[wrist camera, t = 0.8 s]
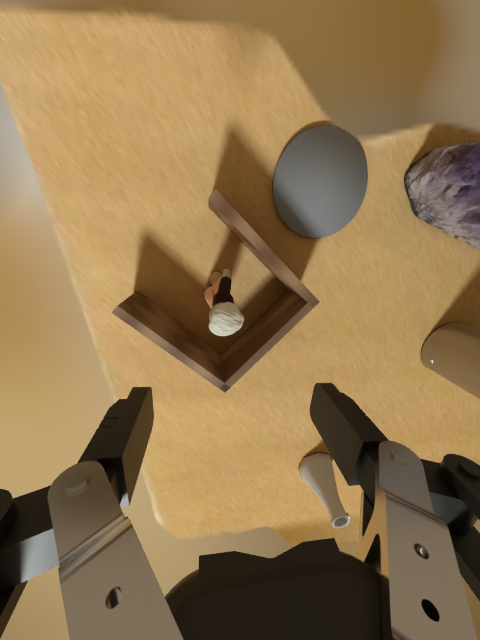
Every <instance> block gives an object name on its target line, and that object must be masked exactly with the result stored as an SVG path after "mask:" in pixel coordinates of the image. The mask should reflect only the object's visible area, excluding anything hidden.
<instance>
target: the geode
mask: <svg viewBox="0 0 480 640" xmlns="http://www.w3.org/2000/svg"><path fill="white" fill-rule="evenodd" d="M404 184H405V189H406V192H407V195H408V198H409V201H410V204H411V208H412V210H413V212H414V214H415V216H417V217H418V218H420V219H423V220H425V221H426V222H427V223H429V224H431V225H434V226H436V227H438V228H439V229H441V230H442V231H443V232H445V233H448V234H450V235H456V236H455V239H458V240H461V241H465V242H467V243H468V244H470V245H472V246H474V247H476V248H478V249H480V142H477V141H475V142H470V141H464V142H461V143H458V144H457V145H455V146H444V147H440V148H435V149H433V150H431V151H430V152H428V153H427V154H426V155H425V156H424V157H422V158H421V159H420V160H419V161H417V162H415V163H414V164H412V165H411V166H410V169H409V170H408V171H407V172H406V174H405V177H404Z"/></svg>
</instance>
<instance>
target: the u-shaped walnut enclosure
mask: <svg viewBox="0 0 480 640" xmlns="http://www.w3.org/2000/svg"><path fill="white" fill-rule="evenodd" d="M209 208H210V209H211V210H212V211H213V212H214V213H215V214H216V215H217V216H218V217H219V218H220V219H221V220H222V221H223V222H224V224H225V225H226V226H227V227H228V228H229V229H230V230H231V231H232V232H233V233H234V234H235V235H236V236H237V237H238V238H239V239H240V240H241V241H242V242H243V243H244V244H245V245H246V246H247V247H248V248H249V250H250V251H251V252H252V253H253V254H254V255H255V256H256V257H257V258H258V259H259V260H260V261H261V262H262V263H263V264H264V265H265V266H266V267H267V268H268V269H269V270H270V271H271V272H272V273H273V274H274V276H275V277H276V278H277V279H278V280H279V281H280V282H281V283H282V284H283V285H284V286H285V287H286V288H287V289H288V290H287V291H286V292H285V293H284V294H283V295H282V296H281V297H280V298H279V299H278V300H277V301H276V302H275V303H274V304H273V305H272V306H271V307H270V308H269V309H268V310H267V311H266V312H265V313H264V314H263V315H262V316H261V317H260V318H259V319H258V320H257V321H256V322H255V323H254V324H253V325H252V326H251V327H250V328H249V329H248V330H247V331H246V332H245V333H244V334H243V335H242V336H241V337H240V338H239V339H238V340H237V341H236V342H235V343H234V344H233V345H232V346H231V347H230V348H229V349H228V350H227V351H226V352H225V353H224V354H223V355H222V356H221V355H220V354H219V353H217V352H216V351H215V350H214V349H212V348H211V347H210V346H208V345H207V344H206V343H205V342H203V341H202V340H201V339H199V338H198V337H197V336H196V335H194V334H193V333H192V332H190V331H189V330H188V329H186V328H185V327H184V326H183V325H181V324H180V323H179V322H177V321H176V320H175V319H174V318H172V317H171V316H170V315H168V314H167V313H166V312H164V311H163V310H162V309H161V308H159V307H158V306H157V305H155V304H154V303H153V302H152V301H150V300H149V299H148V298H146V297H145V296H144V295H142V294H141V293H140V292H139V291H136V292H135V293H134V294H132V295H131V296H130V297H128V298H127V299H126V300H124V301H123V302H122V303H120V304H119V305H118V306H117V307H116V308H115V309H114V311H113V312H112V313H113V314H114V315H116V316H117V317H119V318H120V319H121V320H123V321H124V322H126V323H127V324H129V325H130V326H131V327H133V328H134V329H136V330H137V331H138V332H140V333H141V334H143V335H144V336H146V337H147V338H148V339H150V340H151V341H153V342H154V343H155V344H157V345H158V346H160V347H161V348H163V349H164V350H165V351H167V352H168V353H170V354H171V355H173V356H174V357H175V358H177V359H178V360H180V361H181V362H182V363H184V364H185V365H187V366H188V367H190V368H191V369H192V370H194V371H195V372H197V373H198V374H199V375H201V376H202V377H204V378H205V379H207V380H208V381H209V382H211V383H212V384H214V385H215V386H216V387H218V388H219V389H221V390H222V391H224V392H226V391H227V390H228V389H229V388H230V387H231V386H232V385H233V384H234V383H236V382H237V381H238V380H239V379H240V378H241V377H242V376H243V375H244V374H245V373H246V372H247V371H248V370H249V369H250V368H251V367H252V366H253V365H254V364H255V363H256V362H257V361H259V360H260V359H261V358H262V357H263V356H264V355H265V354H266V353H267V352H268V351H269V350H270V349H271V348H272V347H273V346H274V345H275V344H276V343H277V342H278V341H279V340H280V339H281V338H283V337H284V336H285V335H286V334H287V333H288V332H289V331H290V330H291V329H292V328H293V327H294V326H295V325H296V324H297V323H298V322H299V321H300V320H301V319H302V318H303V317H304V316H305V315H307V314H308V313H309V312H310V311H311V310H312V309H313V308H314V307H315V306H316V305H317V304H318V303H319V301H318V300H317V299H316V298H315V296H314V295H313V294H312V293H311V292H310V291H309V290H308V289H307V288H306V287H305V286H304V284H303V283H302V282H301V281H300V280H299V279H298V278H297V277H296V276H295V275H294V274H293V272H292V271H291V270H290V269H289V268H288V267H287V266H286V265H285V264H284V263H283V262H282V261H281V259H280V258H279V257H278V256H277V255H276V254H275V253H274V252H273V251H272V250H271V249H270V247H269V246H268V245H267V244H266V243H265V242H264V241H263V240H262V239H261V238H260V237H259V235H258V234H257V233H256V232H255V231H254V230H253V229H252V228H251V227H250V226H249V225H248V223H247V222H246V221H245V220H244V219H243V218H242V217H241V216H240V215H239V214H238V213H237V211H236V210H235V209H234V208H233V207H232V206H231V205H230V204H229V203H228V202H227V201H226V200H225V198H224V197H223V196H222V195H221V194H220V193H219V192H218V191H217V190H215V191H214V192H213V193H212V194H211V196H210V197H209Z"/></svg>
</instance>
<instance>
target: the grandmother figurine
mask: <svg viewBox="0 0 480 640" xmlns="http://www.w3.org/2000/svg"><path fill="white" fill-rule="evenodd" d="M231 274H232V273H231V271H230V270H229V269H224V270H223V272H222V273H220V272H213V273H212V274H211V275H210V278H209V281H210V283H211V284H212V285H213V286H210V287H208V288H207V289H206V290H205V293H204V295H205V299H206V301H207V303H208V304H209V306H210V308H211V310H210V313H209V320H210V323H209V329H210V331H211V332H212V333H214V334H215V335H218V336H221V337H223V336H227V335H231V334H233V333H235V332H236V331H238V330H239V329H240V328H241V327H242V325H243V322H244V316H243V315H242V314H241V313H240V310H239V309H238V307H237V306H236V305H235V304H234V301H233V297H232V296H231V294H230V290H231Z"/></svg>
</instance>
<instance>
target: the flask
mask: <svg viewBox="0 0 480 640" xmlns="http://www.w3.org/2000/svg"><path fill="white" fill-rule="evenodd" d="M298 469H299V472H300V475H301V477H302V478H303V480H304V481H305V482H306V483H307V484H308V485H309V487H310V488H311V489H312V490H313V491H314V493H315V494H316V495H317V496H318V497H319V499H320V500H321V501H322V502H323V504H324V506H325V507H326V509H327V511H328V512H329V514H330V516H331V522H332V525H333V527H334V528H342V527H344V526H347V525H348V524H349V522H350V521H351V520H350V516H349V514H348V513H346V512H345V510H344V508H343V506H342V504H341V501H340V498H339V495H338V491H337V486H336V482H335V476H334V470H333V465H332V461H331V458H330V455H329V454H322V453H316V454H313V455H310V456H308V457H305V458H303V460H302V462H301V464H300V466H299V468H298Z"/></svg>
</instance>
